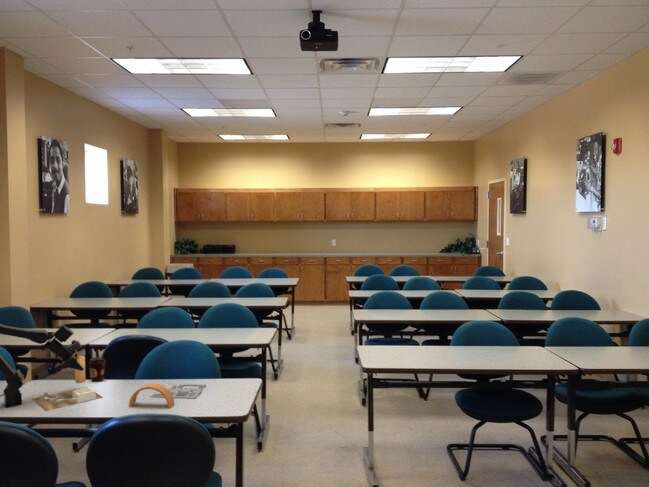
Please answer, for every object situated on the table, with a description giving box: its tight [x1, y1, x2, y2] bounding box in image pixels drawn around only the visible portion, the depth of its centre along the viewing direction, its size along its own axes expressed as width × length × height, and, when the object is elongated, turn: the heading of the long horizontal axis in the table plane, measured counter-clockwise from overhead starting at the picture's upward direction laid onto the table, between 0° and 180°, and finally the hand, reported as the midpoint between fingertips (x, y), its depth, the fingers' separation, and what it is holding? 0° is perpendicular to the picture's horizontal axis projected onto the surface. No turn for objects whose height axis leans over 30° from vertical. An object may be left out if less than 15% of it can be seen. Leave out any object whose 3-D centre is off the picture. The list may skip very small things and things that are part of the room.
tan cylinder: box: [74, 355, 86, 384], centre depth 259 cm, size 4×4×12 cm
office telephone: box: [149, 383, 207, 400], centre depth 266 cm, size 23×3×20 cm
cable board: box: [31, 386, 104, 412], centre depth 254 cm, size 26×22×4 cm
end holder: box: [72, 386, 97, 404], centre depth 253 cm, size 8×8×4 cm
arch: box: [128, 382, 175, 409], centre depth 247 cm, size 6×20×10 cm, turn 85°
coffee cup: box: [88, 357, 107, 383], centre depth 281 cm, size 9×8×13 cm
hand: (83, 368), depth 260 cm, fingers closed on tan cylinder, 4 cm apart
